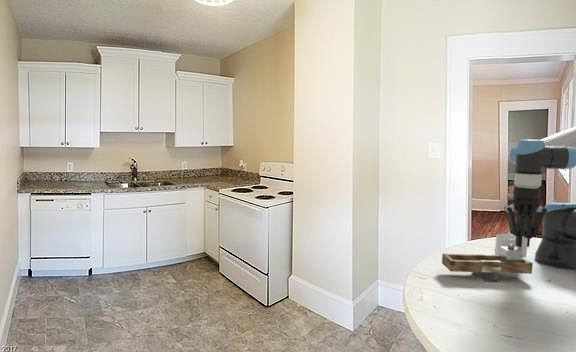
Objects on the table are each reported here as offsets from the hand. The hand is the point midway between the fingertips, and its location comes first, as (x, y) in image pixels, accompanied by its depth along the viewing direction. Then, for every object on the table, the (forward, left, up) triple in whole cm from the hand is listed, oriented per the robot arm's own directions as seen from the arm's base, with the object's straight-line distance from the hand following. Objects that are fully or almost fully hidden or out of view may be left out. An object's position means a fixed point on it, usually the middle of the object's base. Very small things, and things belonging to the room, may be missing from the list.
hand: (521, 256), depth 125 cm
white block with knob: (+4, 0, -3) cm, 4 cm away
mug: (-3, -13, -8) cm, 16 cm away
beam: (+12, 0, -8) cm, 14 cm away
